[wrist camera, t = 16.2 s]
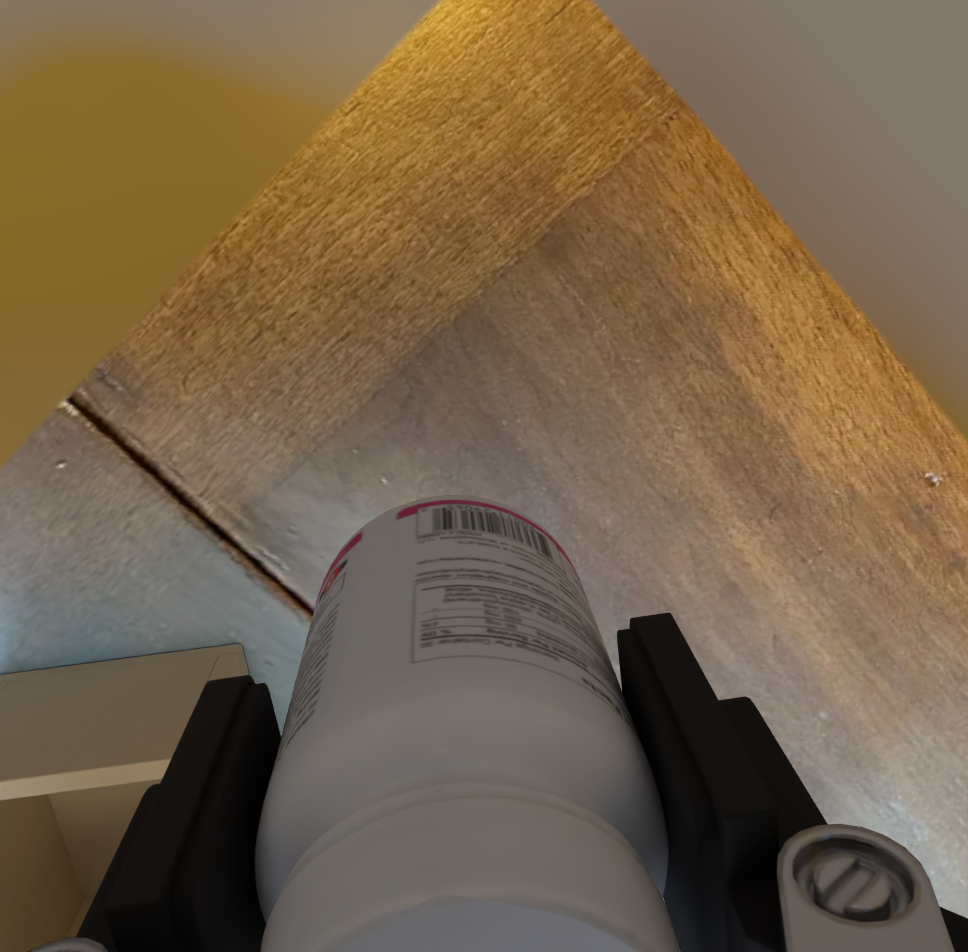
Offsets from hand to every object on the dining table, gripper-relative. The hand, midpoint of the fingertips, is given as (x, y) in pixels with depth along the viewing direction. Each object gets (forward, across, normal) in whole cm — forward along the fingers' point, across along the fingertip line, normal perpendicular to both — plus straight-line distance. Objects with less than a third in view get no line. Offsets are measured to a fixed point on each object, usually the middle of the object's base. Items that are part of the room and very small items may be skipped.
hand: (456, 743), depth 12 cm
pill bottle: (+4, 0, 0) cm, 4 cm away
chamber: (+23, +16, +16) cm, 33 cm away
